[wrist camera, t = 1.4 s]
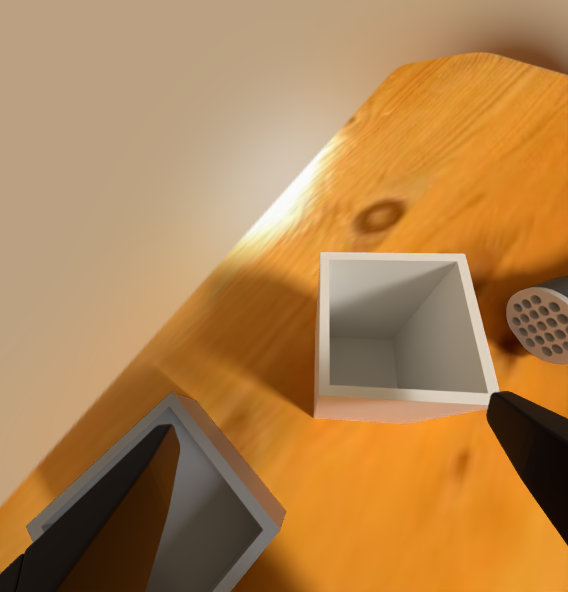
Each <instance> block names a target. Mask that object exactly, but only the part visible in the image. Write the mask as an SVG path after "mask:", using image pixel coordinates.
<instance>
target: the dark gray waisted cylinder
mask: <svg viewBox="0 0 568 592" xmlns="http://www.w3.org/2000/svg"><path fill="white" fill-rule="evenodd" d="M506 317H507V322H508V325H509V327H510V329H511V330H512V332H513V333H514V335H515V336H516V337H517V339H518V340H519V341H520V343H521V344H522V345H523V347H524V348H525V349H526V350H527V351H529V352H530V353H531V354H533V355H534V356H536V357H538V358H540V359H542V360H544V361H547V362H550V363H555V364H567V363H568V276H565V277H559V278H555V279H553V280H550V281H547V282H544V283H541V284H538V285H535V286H533V287H530V288H527V289H524V290H521V291H519V292H517V293H515V294H514V295H513V296H512V297H511V298H510V300H509V301H508V304H507V308H506Z"/></svg>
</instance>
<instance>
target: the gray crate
mask: <svg viewBox="0 0 568 592" xmlns="http://www.w3.org/2000/svg"><path fill="white" fill-rule="evenodd" d="M160 424H173V425H174V427H175V431H176V434H177V437H178V440H179V443H180V455H179V461H178V466H177V471H176V476H175V482H174V487H173V492H172V497H171V502H170V507H169V512H168V516H167V519H166V523H165V526H164V530H163V533H162V537H161V540H160V544H159V547H158V550H157V554H156V557H155V561H154V564H153V568H152V571H151V574H150V578H149V581H148V585H147V588H146V592H231V591H232V589H233V588H234V587H235V586H236V584H237V583H238V582H239V581H240V579H241V578H242V577H243V576H244V574H245V573H246V572H247V571H248V569H249V568H250V567H251V566H252V564H253V563H254V562H255V561H256V560H257V558H258V557H259V556H260V555H261V553H262V552H263V551H264V550H265V548H266V547H267V546H268V545H269V543H270V542H271V541H272V540H273V538H274V537H275V536H276V535H277V533H278V532H279V531H280V529H281V526H282V523H283V520H284V517H285V513H286V510H285V509H284V508H283V507H282V505H281V504H280V503H279V502H278V501H277V499H276V498H275V497H274V496H273V494H272V493H271V492H270V491H269V489H268V488H267V487H266V486H265V485H264V483H263V482H262V481H261V480H260V478H259V477H258V476H257V475H256V473H255V472H254V471H253V470H252V469H251V467H250V466H249V465H248V464H247V462H246V461H245V460H244V459H243V457H242V456H241V455H240V454H239V453H238V451H237V450H236V449H235V448H234V446H233V445H232V444H231V443H230V441H229V440H228V439H227V438H226V437H225V435H224V434H223V433H222V432H221V430H220V429H219V428H218V427H217V425H216V424H215V423H214V422H213V421H212V419H211V418H210V417H209V416H208V414H207V413H206V412H205V411H204V409H203V408H202V407H201V406H200V405H199V403H198V402H197V401H196V400H193V399H190V398H188V397H185V396H182V395H180V394H177V393H174V392H171V393H170V394H169V395H167V396H166V397H165V398H164V399H163V400H162V401H161V402H160V403H159V404H158V405H157V406H156V407H154V408H153V409H152V410H151V411H150V412H149V413H148V414H147V415H146V416H145V417H144V418H143V419H141V420H140V421H139V422H138V423H137V424H136V425H135V426H134V427H133V428H132V429H131V430H130V431H128V432H127V433H126V434H125V435H124V436H123V437H122V438H121V439H120V440H119V441H118V442H117V443H116V444H114V445H113V446H112V447H111V448H110V449H109V450H108V451H107V452H106V453H105V454H104V455H103V456H101V457H100V458H99V459H98V460H97V461H96V462H95V463H94V464H93V465H92V466H91V467H90V468H88V469H87V470H86V471H85V472H84V473H83V474H82V475H81V476H80V477H79V478H78V479H77V480H76V481H74V482H73V483H72V484H71V485H70V486H69V487H68V488H67V489H66V490H65V491H64V492H63V493H61V494H60V495H59V496H58V497H57V498H56V499H55V500H54V501H53V502H52V503H51V504H50V505H48V506H47V507H46V508H45V509H44V510H43V511H42V512H41V513H40V514H39V515H38V516H37V517H36V518H34V519H33V520H32V521H31V522H30V523H29V524H28V525H27V526H26V527H27V529H28V532H29V534H30V536H31V539H32V541H33V543H34V542H35V541H36V540H37V539H38V538H39V537H40V536H41V535H42V534H43V533H44V532H45V531H46V530H47V529H48V528H49V527H50V526H51V525H52V524H54V523H55V522H56V521H57V520H58V519H59V518H60V517H61V516H62V515H63V514H64V513H65V512H66V511H67V510H68V509H69V508H70V507H71V506H72V505H74V504H75V503H76V502H77V501H78V500H79V499H80V498H81V497H82V496H83V495H84V494H85V493H86V492H87V491H88V490H89V489H90V488H91V487H92V486H94V485H95V484H96V483H97V482H98V481H99V480H100V479H101V478H102V477H103V476H104V475H105V474H106V473H107V472H108V471H109V470H110V469H111V468H112V467H114V466H115V465H116V464H117V463H118V462H119V461H120V460H121V459H122V458H123V457H124V456H125V455H126V454H127V453H128V452H129V451H130V450H131V449H132V448H134V447H135V446H136V445H137V444H138V443H139V442H140V441H141V440H142V439H143V438H144V437H145V436H146V435H147V434H148V433H149V432H150V431H151V430H152V429H154V428H155V427H156V426H157V425H160Z"/></svg>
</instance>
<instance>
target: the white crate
mask: <svg viewBox="0 0 568 592" xmlns="http://www.w3.org/2000/svg"><path fill="white" fill-rule="evenodd" d="M494 392H500V391H499V387H498V383H497V379H496V375H495V371H494V367H493V363H492V359H491V355H490V351H489V347H488V343H487V339H486V335H485V331H484V327H483V323H482V319H481V316H480V312H479V308H478V304H477V300H476V296H475V292H474V288H473V284H472V280H471V276H470V272H469V268H468V264H467V260H466V256H465V254H433V253H348V252H321V253H320V268H319V284H318V299H317V314H316V329H315V370H314V418H320V419H335V420H350V421H366V422H381V423H396V424H409V423H414V422H420V421H425V420H430V419H436V418H441V417H447V416H452V415H458V414H463V413H469V412H474V411H479V410H485V409H488V404H489V400H490V396H491V394H492V393H494Z"/></svg>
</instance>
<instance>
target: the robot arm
mask: <svg viewBox="0 0 568 592" xmlns="http://www.w3.org/2000/svg"><path fill="white" fill-rule="evenodd" d="M486 416H487V421H488V423H489V425H490V427H491V429H492V430H493V432H494V434H495V435H496V437H497V439H498V441H499V442H500V444H501V446H502V447H503V449H504V451H505V453H506V454H507V456H508V458H509V460H510V461H511V463H512V465H513V466H514V468H515V470H516V471H517V473H518V475H519V476H520V478H521V479H522V481H523V482H524V484H525V485H526V487H527V488H528V490H529V491H530V493H531V494H532V496H533V497H534V498H535V500H536V501H537V503H538V504H539V505H540V507H541V508H542V510H543V511H544V513H545V514H546V515H547V517H548V518H549V520H550V521H551V523H552V524H553V525H554V527H555V528H556V530H557V531H558V533H559V534H560V535H561V537H562V538H563V540H564V541H565V542H566V544H567V545H568V419H567V418H565V417H563V416H561V415H559V414H557V413H555V412H552V411H550V410H548V409H546V408H544V407H542V406H540V405H538V404H535V403H533V402H531V401H529V400H527V399H525V398H523V397H520V396H518V395H516V394H514V393H512V392H509V391H501V392H494V393H492V394H491V396H490V400H489V404H488V409H487V414H486ZM179 455H180V443H179V440H178V437H177V434H176V431H175V427H174V425H173V424H160V425H157V426H156V427H155V428H154V429H152V430H151V431H150V432H149V433H148V434H147V435H146V436H145V437H144V438H143V439H142V440H141V441H140V442H139V443H138V444H137V445H136V446H135V447H134V448H132V449H131V450H130V451H129V452H128V453H127V454H126V455H125V456H124V457H123V458H122V459H121V460H120V461H119V462H118V463H117V464H116V465H115V466H114V467H112V468H111V469H110V470H109V471H108V472H107V473H106V474H105V475H104V476H103V477H102V478H101V479H100V480H99V481H98V482H97V483H96V484H95V485H94V486H92V487H91V488H90V489H89V490H88V491H87V492H86V493H85V494H84V495H83V496H82V497H81V498H80V499H79V500H78V501H77V502H76V503H75V504H74V505H72V506H71V507H70V508H69V509H68V510H67V511H66V512H65V513H64V514H63V515H62V516H61V517H60V518H59V519H58V520H57V521H56V522H55V523H54V524H52V525H51V526H50V527H49V528H48V529H47V530H46V531H45V532H44V533H43V534H42V535H41V536H40V537H39V538H38V539H37V540H36V541H35V542H34V543H32V544H31V545H30V546H29V547H28V548H27V549H26V551H25V553H24V554H21V555H20V556H19V557H18V558H17V559H15V560H14V561H13V562H12V563H11V564H10V565H9V566H8V567H7V568H6V569H5V570H4V571H3V572H2V573H1V574H0V592H146V588H147V585H148V581H149V578H150V574H151V571H152V568H153V564H154V561H155V557H156V554H157V550H158V547H159V544H160V540H161V537H162V533H163V530H164V526H165V523H166V519H167V516H168V512H169V507H170V502H171V497H172V492H173V487H174V482H175V476H176V471H177V466H178V461H179Z"/></svg>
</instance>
